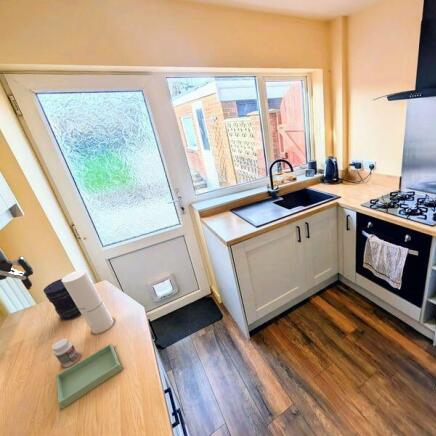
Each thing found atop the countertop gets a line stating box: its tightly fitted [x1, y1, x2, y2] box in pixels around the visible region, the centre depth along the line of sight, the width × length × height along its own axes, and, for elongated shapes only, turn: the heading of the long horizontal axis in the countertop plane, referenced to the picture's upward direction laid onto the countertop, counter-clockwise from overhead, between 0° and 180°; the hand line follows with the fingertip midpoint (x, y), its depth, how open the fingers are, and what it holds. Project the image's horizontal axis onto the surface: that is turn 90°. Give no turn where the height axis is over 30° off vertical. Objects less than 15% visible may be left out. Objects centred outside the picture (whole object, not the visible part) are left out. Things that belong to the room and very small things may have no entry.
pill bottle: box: [51, 338, 81, 368], centre depth 83 cm, size 5×5×8 cm
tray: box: [55, 343, 123, 409], centre depth 79 cm, size 15×12×2 cm
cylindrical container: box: [61, 269, 114, 335], centre depth 93 cm, size 7×7×25 cm
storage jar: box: [43, 278, 82, 321], centre depth 105 cm, size 10×10×15 cm
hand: (10, 295), depth 76 cm, fingers open, 8 cm apart
